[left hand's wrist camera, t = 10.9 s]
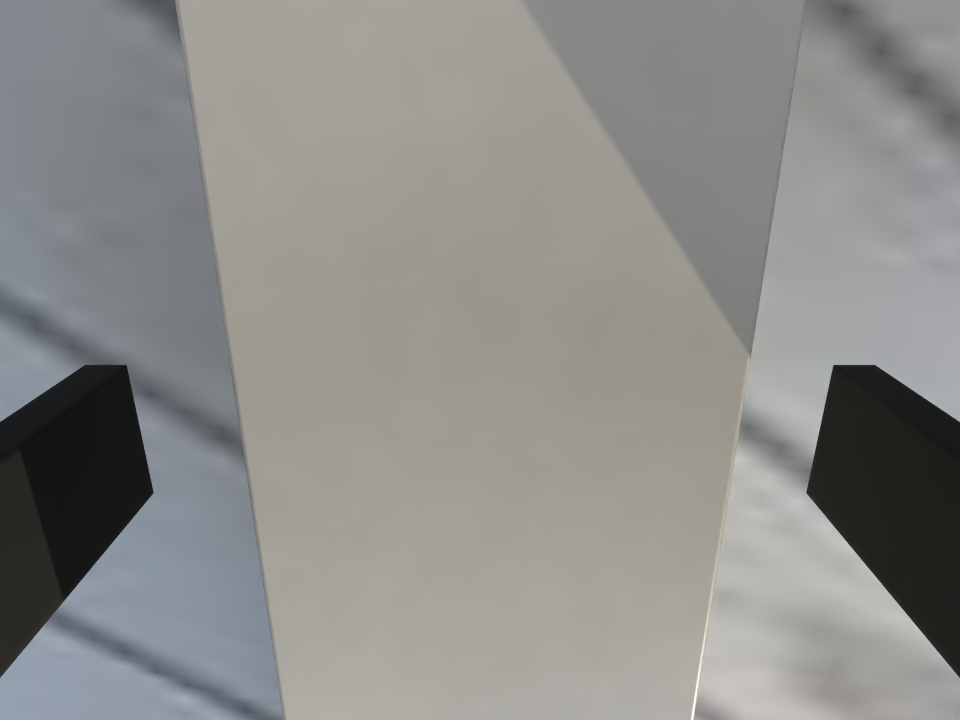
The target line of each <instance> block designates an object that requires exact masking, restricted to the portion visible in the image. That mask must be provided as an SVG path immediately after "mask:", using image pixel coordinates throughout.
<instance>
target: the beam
mask: <svg viewBox="0 0 960 720" xmlns="http://www.w3.org/2000/svg"><path fill="white" fill-rule="evenodd" d="M806 2H807V0H175V4H176V11H177V17H178V24H179V30H180V37H181V44H182V50H183V57H184V63H185V70H186V77H187V83H188V90H189V96H190V103H191V110H192V116H193V123H194V129H195V136H196V143H197V149H198V156H199V162H200V169H201V176H202V182H203V189H204V195H205V202H206V209H207V215H208V222H209V228H210V235H211V242H212V248H213V255H214V261H215V268H216V275H217V281H218V288H219V294H220V301H221V308H222V314H223V321H224V327H225V334H226V341H227V347H228V354H229V360H230V367H231V374H232V380H233V387H234V393H235V400H236V407H237V413H238V420H239V426H240V433H241V440H242V446H243V453H244V459H245V466H246V473H247V479H248V486H249V492H250V499H251V505H252V512H253V519H254V525H255V532H256V538H257V545H258V552H259V558H260V565H261V571H262V578H263V585H264V591H265V598H266V604H267V611H268V618H269V624H270V631H271V637H272V644H273V651H274V657H275V664H276V670H277V677H278V684H279V690H280V697H281V703H282V710H283V717H284V720H694V713H695V707H696V701H697V694H698V688H699V682H700V675H701V669H702V663H703V656H704V650H705V644H706V637H707V631H708V624H709V618H710V612H711V605H712V599H713V593H714V586H715V580H716V574H717V567H718V561H719V555H720V548H721V542H722V535H723V529H724V523H725V516H726V510H727V504H728V497H729V491H730V485H731V478H732V472H733V466H734V459H735V453H736V446H737V440H738V434H739V427H740V421H741V415H742V408H743V402H744V396H745V389H746V383H747V377H748V370H749V364H750V358H751V351H752V345H753V338H754V332H755V326H756V319H757V313H758V307H759V300H760V294H761V288H762V281H763V275H764V269H765V262H766V256H767V249H768V243H769V237H770V230H771V224H772V218H773V211H774V205H775V199H776V192H777V186H778V180H779V173H780V167H781V160H782V154H783V148H784V141H785V135H786V129H787V122H788V116H789V110H790V103H791V97H792V91H793V84H794V78H795V71H796V65H797V59H798V52H799V46H800V40H801V33H802V27H803V21H804V14H805V8H806Z"/></svg>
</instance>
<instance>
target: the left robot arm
mask: <svg viewBox="0 0 960 720" xmlns="http://www.w3.org/2000/svg"><path fill="white" fill-rule="evenodd" d="M152 494H153V488H152V483H151V479H150V474H149V469H148V464H147V460H146V455H145V450H144V446H143V441H142V436H141V431H140V427H139V422H138V417H137V412H136V408H135V403H134V398H133V394H132V389H131V384H130V379H129V375H128V370H127V365H84V366H83V367H81V368H80V369H79V370H77V371H76V372H74V373H73V374H71V375H70V376H68V377H67V378H65V379H64V380H62V381H61V382H59V383H58V384H56V385H55V386H53V387H52V388H50V389H49V390H47V391H46V392H44V393H43V394H41V395H40V396H38V397H37V398H35V399H34V400H32V401H31V402H29V403H28V404H26V405H25V406H24V407H22V408H21V409H19V410H18V411H16V412H15V413H13V414H12V415H10V416H9V417H7V418H6V419H4V420H3V421H1V422H0V677H1V676H2V675H3V674H4V673H5V671H6V670H7V669H8V668H9V667H10V665H11V664H12V663H13V662H14V661H15V659H16V658H17V657H18V656H19V655H20V653H21V652H22V651H23V650H24V649H25V647H26V646H27V645H28V644H29V642H30V641H31V640H32V639H33V638H34V636H35V635H36V634H37V633H38V632H39V630H40V629H41V628H42V627H43V626H44V624H45V623H46V622H47V621H48V620H49V618H50V617H51V616H52V615H53V614H54V612H55V611H56V610H57V609H58V608H59V606H60V605H61V604H62V603H63V601H64V600H65V599H66V598H67V597H68V595H69V594H70V593H71V592H72V591H73V589H74V588H75V587H76V586H77V585H78V583H79V582H80V581H81V580H82V579H83V577H84V576H85V575H86V574H87V573H88V571H89V570H90V569H91V568H92V567H93V565H94V564H95V563H96V562H97V561H98V559H99V558H100V557H101V556H102V554H103V553H104V552H105V551H106V550H107V548H108V547H109V546H110V545H111V544H112V542H113V541H114V540H115V539H116V538H117V536H118V535H119V534H120V533H121V532H122V530H123V529H124V528H125V527H126V526H127V524H128V523H129V522H130V521H131V520H132V518H133V517H134V516H135V515H136V514H137V512H138V511H139V510H140V509H141V507H142V506H143V505H144V504H145V503H146V501H147V500H148V499H149V498H150V497H151V495H152ZM807 494H808V495H809V497H810V498H811V499H812V500H813V501H814V503H815V504H816V505H817V506H818V507H819V509H820V510H821V511H822V512H823V514H824V515H825V516H826V517H827V518H828V520H829V521H830V522H831V523H832V524H833V526H834V527H835V528H836V529H837V530H838V532H839V533H840V534H841V535H842V536H843V538H844V539H845V540H846V541H847V542H848V544H849V545H850V546H851V547H852V548H853V550H854V551H855V552H856V553H857V554H858V556H859V557H860V558H861V559H862V561H863V562H864V563H865V564H866V565H867V567H868V568H869V569H870V570H871V571H872V573H873V574H874V575H875V576H876V577H877V579H878V580H879V581H880V582H881V583H882V585H883V586H884V587H885V588H886V589H887V591H888V592H889V593H890V594H891V595H892V597H893V598H894V599H895V600H896V601H897V603H898V604H899V605H900V606H901V608H902V609H903V610H904V611H905V612H906V614H907V615H908V616H909V617H910V618H911V620H912V621H913V622H914V623H915V624H916V626H917V627H918V628H919V629H920V630H921V632H922V633H923V634H924V635H925V636H926V638H927V639H928V640H929V641H930V642H931V644H932V645H933V646H934V647H935V648H936V650H937V651H938V652H939V653H940V655H941V656H942V657H943V658H944V659H945V661H946V662H947V663H948V664H949V665H950V667H951V668H952V669H953V670H954V671H955V673H956V674H957V675H958V676H959V677H960V422H959V421H957V420H956V419H954V418H953V417H951V416H950V415H948V414H947V413H945V412H944V411H942V410H941V409H939V408H938V407H936V406H935V405H934V404H932V403H931V402H929V401H928V400H926V399H925V398H923V397H922V396H920V395H919V394H917V393H916V392H914V391H913V390H911V389H910V388H908V387H907V386H905V385H904V384H902V383H901V382H899V381H898V380H896V379H895V378H893V377H892V376H890V375H889V374H887V373H886V372H884V371H883V370H881V369H880V368H879V367H877V366H876V365H833V370H832V375H831V379H830V384H829V389H828V394H827V398H826V403H825V408H824V412H823V417H822V422H821V427H820V431H819V436H818V441H817V446H816V450H815V455H814V460H813V464H812V469H811V474H810V479H809V483H808V488H807Z"/></svg>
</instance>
